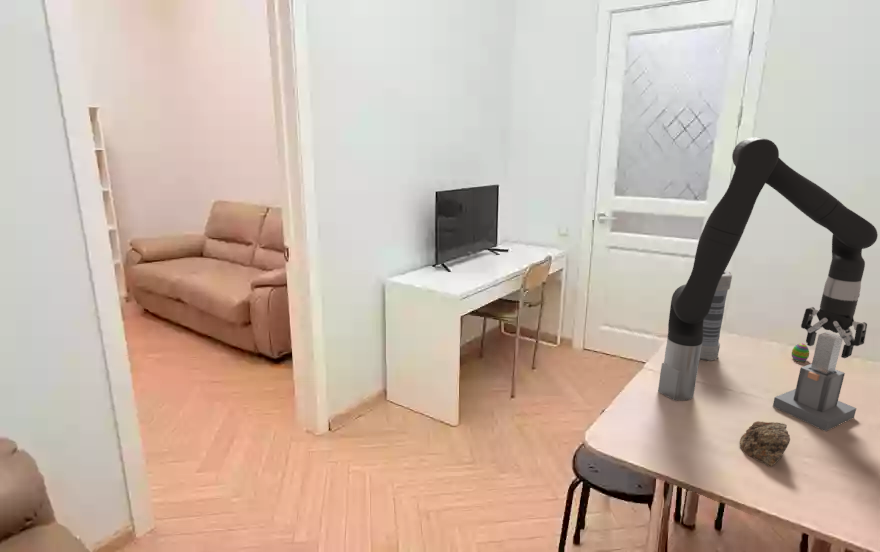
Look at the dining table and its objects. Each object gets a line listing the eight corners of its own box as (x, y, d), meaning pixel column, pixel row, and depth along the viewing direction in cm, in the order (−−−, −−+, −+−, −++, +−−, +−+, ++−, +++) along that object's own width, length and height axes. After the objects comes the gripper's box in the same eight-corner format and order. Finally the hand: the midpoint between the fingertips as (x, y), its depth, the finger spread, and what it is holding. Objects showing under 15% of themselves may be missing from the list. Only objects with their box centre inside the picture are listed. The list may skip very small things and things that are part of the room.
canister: (720, 362, 178) (735, 277, 170) (687, 358, 181) (700, 274, 172) (715, 350, 188) (729, 269, 179) (684, 346, 190) (696, 266, 182)
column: (818, 407, 145) (835, 340, 140) (802, 400, 149) (817, 334, 143) (827, 403, 147) (844, 337, 142) (811, 396, 151) (826, 331, 145)
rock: (786, 447, 135) (742, 434, 141) (793, 417, 133) (748, 404, 139) (782, 473, 124) (734, 457, 129) (790, 440, 122) (741, 425, 127)
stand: (825, 431, 140) (836, 387, 136) (772, 406, 152) (781, 365, 148) (853, 417, 147) (865, 375, 143) (801, 394, 158) (810, 355, 154)
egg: (806, 358, 182) (809, 342, 180) (808, 364, 178) (812, 347, 176) (789, 355, 184) (792, 339, 182) (791, 361, 180) (795, 345, 178)
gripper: (803, 289, 143) (792, 344, 148) (864, 305, 131) (849, 364, 136) (819, 285, 147) (807, 339, 151) (879, 300, 135) (864, 358, 139)
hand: (827, 351), depth 144 cm, fingers open, 8 cm apart
